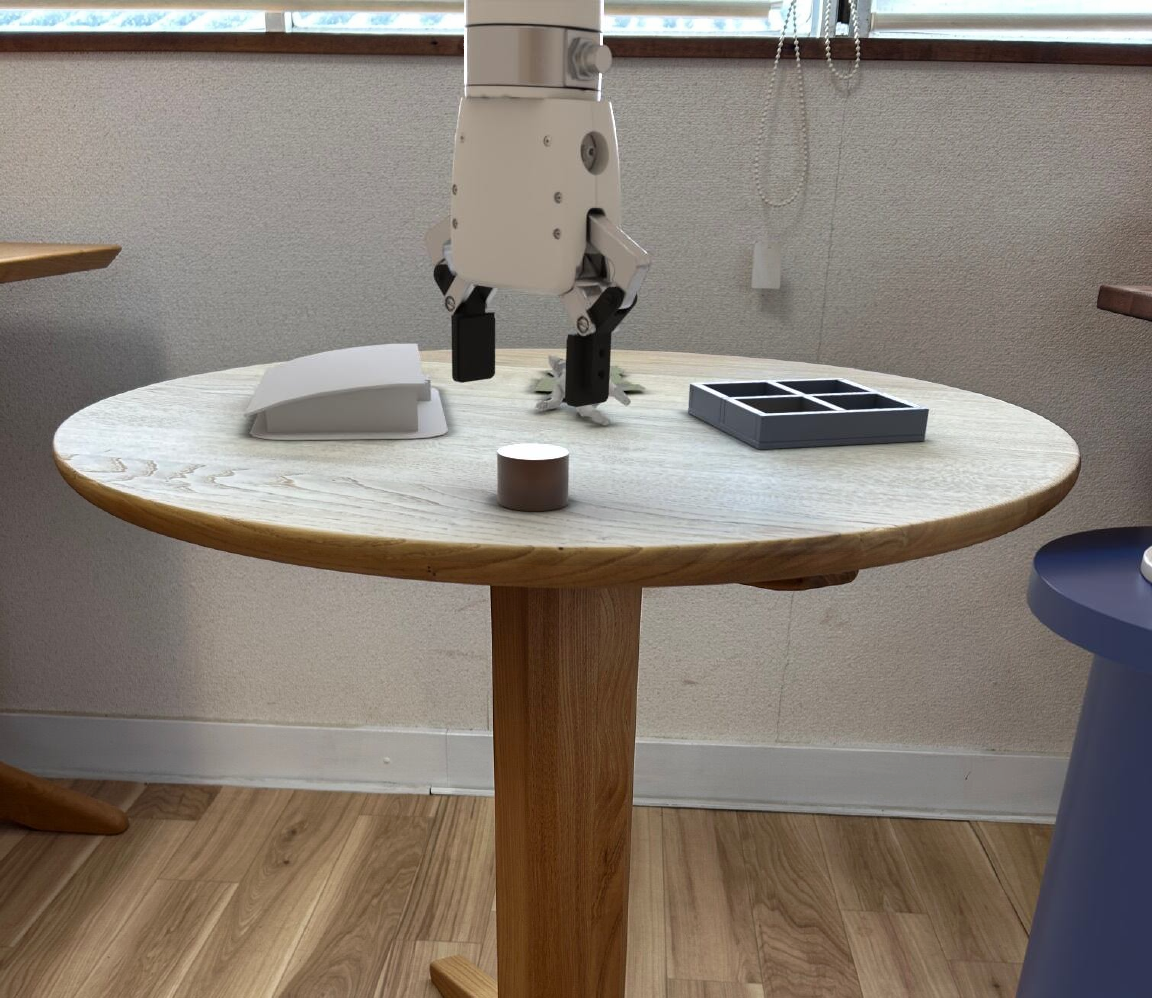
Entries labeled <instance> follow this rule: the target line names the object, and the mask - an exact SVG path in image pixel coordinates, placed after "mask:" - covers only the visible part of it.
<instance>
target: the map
mask: <svg viewBox="0 0 1152 998" xmlns="http://www.w3.org/2000/svg"><path fill="white" fill-rule="evenodd" d="M545 371H546V372H547V373H549V374H550V375H552V376H553V370H552V369H546V370H545ZM624 372H625V369H620V366H619V365H610V380H611V381H612V382H613V383H614V384H615V385H616V386H617V387H619V388H620V389H622V390H623V392H624V391H625V392H626V391H638V390H640V391H641V390H647V388H646V387H644V386H642V385H641V384H639V383H632V382H630V381H627V380H624V379H622V376H621V373H624ZM539 378H540V381H539V382H538V383H537V386H536V387H535V388H534V389H533V390H534V391H536V392H537V391H538V392H551V393H549V394H548V395H546V396H545V397H544V399H551V398H552V395H553V388H554V384H555V382H556V380H555V378H554V376H553V377H543V376H542V377H541V376H540V377H539ZM564 399H565V397H564Z"/></svg>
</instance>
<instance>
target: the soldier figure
mask: <svg viewBox="0 0 1152 998" xmlns="http://www.w3.org/2000/svg"><path fill="white" fill-rule="evenodd" d="M547 358H548V364H549V366H550V367H551V370H553V375H552V376H553V377H554V378H555V380H556V382H555V384H554V388H553V391H552V392H553V395H552V398H550V399H549V400H543V399H539V400H538V401H537V402H536V403H535V405H534V408H535V409H538V410H539V411H540V413H541V412H543V411H544V410H545V411H546V410H553V409H557V408H558V407H560V406H561V404H562V402H563V400H565V398H564V397H565V376H566V358H563V357H560V356H558V355H555V354H552V355H551V354H550V355H548V356H547ZM609 396H610V397H613V398H614V399H615V400H616V401H618V402H619V403H620V404H622V405H623V406H626V407H628V406H629V405H631V402H632V401H631V399H630V398H629V397H628V395H627V394H626V392H624V391H623V390H622V389H620V388H619V387H617V386H616V385H615V384H614V383H613V382H612V381H611V380H609ZM600 404H601V403H598V404H592V405H586V406H581V407H574V409H575V412H577V413H578V414H579V415H580V417H588V418H591V419H592V420H593V421H594V422H595V423H598V424H601V425H603V426H608V425H610V423H611V419H610V418H609V417H608V416H607V415H606V414H605V413H603V412H601V411H599V410H597V407H598V406H599V405H600Z"/></svg>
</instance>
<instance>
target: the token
mask: <svg viewBox="0 0 1152 998" xmlns="http://www.w3.org/2000/svg"><path fill="white" fill-rule="evenodd" d="M569 467H570V452H569V450H568V449H566V448H564V447H561V446H558V445H553V444H545V443H517V444H510V445H505V446H502V447H500V448H498V449H497V451H496V475H497V476H496V479H497V481H496V483H497V484H496V485H497V486H496V487H497V492H496V493H497V503H498V505H499V506H501V507H503V508H507V509H510V510H515V511H520V512H521V511H523V512H546V511H553V510H558V509H562V508H564V507H566V506H567V505H568V504H569V481H570V480H569V478H570V475H569V474H570V472H569V471H570V469H569Z"/></svg>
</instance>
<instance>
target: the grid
mask: <svg viewBox="0 0 1152 998" xmlns="http://www.w3.org/2000/svg"><path fill="white" fill-rule="evenodd" d="M688 391H689V392H688V408H687V414H689V415H691V416H693V417H695V418H696V419H699V420H701V421H702V422H705V423H706V424H709V425H711V426H712V427H714V428H717V429H719V430H720V431H723V432H724V433H726V434H728V435H730V436H732V437H734V438H736V439H738V440H740V441H742V442H744V443H745V444H747V445H750V446H752V447H754V448H756V449H757V450H773V449H775V450H776V449H794V448H795V449H796V448H813V447H814V448H815V447H831V446H833V447H835V446H852V445H872V444H890V443H892V444H893V443H909V442H924V441H925V440H926V432H927V425H928V420H929V413H930V408H928V407H925V406H922V405H919V404H916V403H914V402H911V401H909V400H906V399H902V398H900V397H896V396H895V395H894V396H893V395H890V394H888V393H885V392H881V391H880V390H877V389H875V388H874V389H873V388H871V387H867V386H865V385H863V384H860V383H857V382H854V381H851V380H849V379H844V378H842V377H828V378H826V377H824V378H799V379H798V378H797V379H796V378H795V379H771V380H770V379H769V380H766V379H765V380H741V381H740V380H739V381H736V380H735V381H713V382H708V381H707V382H690V383H689V389H688Z"/></svg>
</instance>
